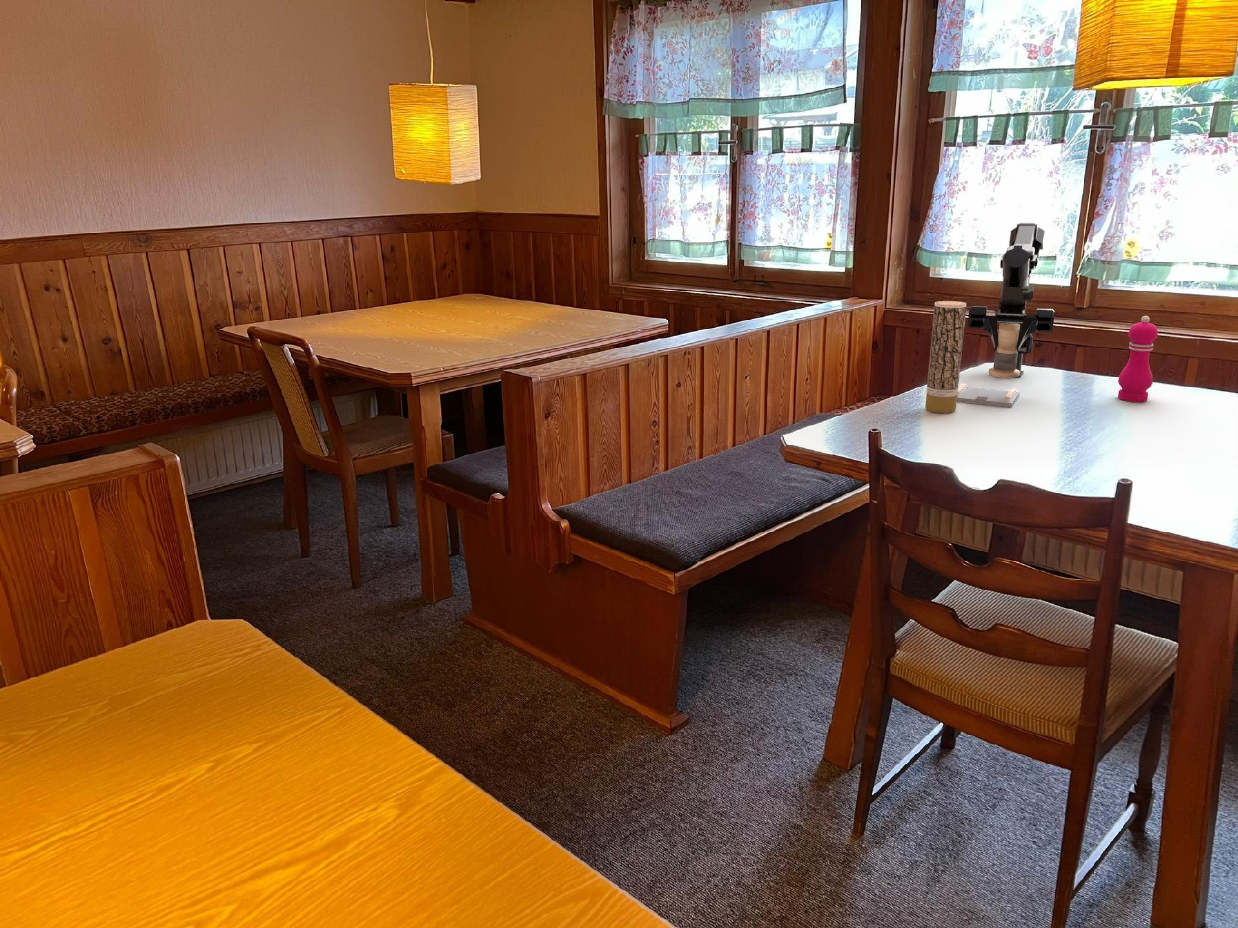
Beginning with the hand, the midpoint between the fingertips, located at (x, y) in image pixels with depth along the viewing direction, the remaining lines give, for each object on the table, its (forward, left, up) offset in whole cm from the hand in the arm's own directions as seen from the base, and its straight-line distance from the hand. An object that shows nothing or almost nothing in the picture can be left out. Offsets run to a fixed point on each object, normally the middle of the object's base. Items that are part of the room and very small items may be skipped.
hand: (1006, 348), depth 213 cm
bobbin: (-1, 0, -7) cm, 7 cm away
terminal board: (-3, -4, -13) cm, 14 cm away
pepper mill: (-18, +27, -14) cm, 35 cm away
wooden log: (+13, -11, -14) cm, 22 cm away
